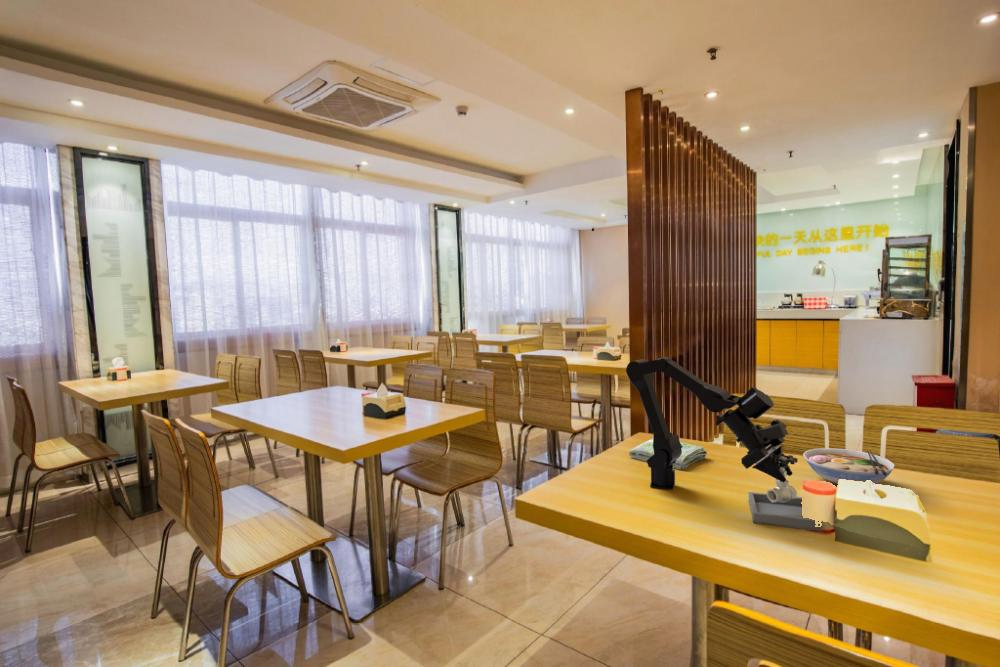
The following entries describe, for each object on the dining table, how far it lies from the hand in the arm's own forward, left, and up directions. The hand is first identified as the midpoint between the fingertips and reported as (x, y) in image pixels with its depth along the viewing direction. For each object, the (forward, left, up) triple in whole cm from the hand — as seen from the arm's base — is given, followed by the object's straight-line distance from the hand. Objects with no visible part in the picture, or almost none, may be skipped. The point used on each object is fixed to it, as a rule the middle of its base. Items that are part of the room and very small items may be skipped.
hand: (788, 478), depth 131 cm
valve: (-1, 0, -7) cm, 7 cm away
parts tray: (-1, 0, -10) cm, 10 cm away
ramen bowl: (+20, +31, -10) cm, 38 cm away
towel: (-32, +41, -11) cm, 53 cm away
